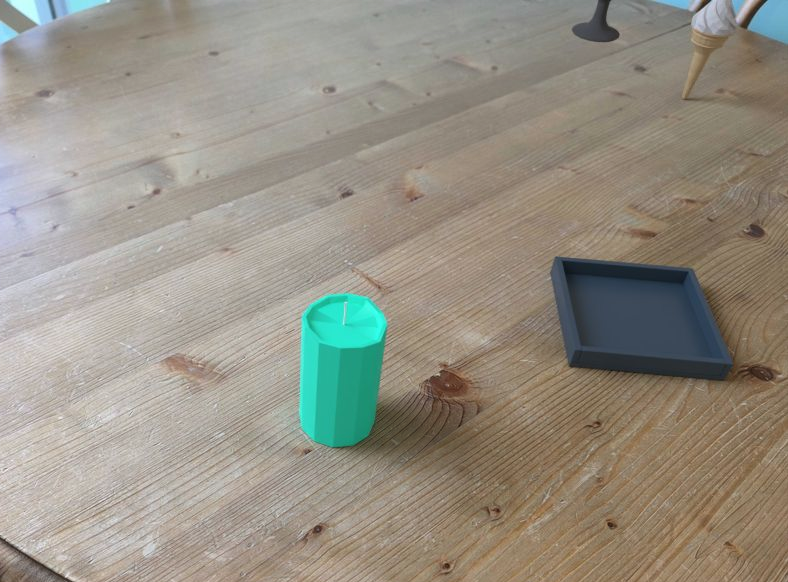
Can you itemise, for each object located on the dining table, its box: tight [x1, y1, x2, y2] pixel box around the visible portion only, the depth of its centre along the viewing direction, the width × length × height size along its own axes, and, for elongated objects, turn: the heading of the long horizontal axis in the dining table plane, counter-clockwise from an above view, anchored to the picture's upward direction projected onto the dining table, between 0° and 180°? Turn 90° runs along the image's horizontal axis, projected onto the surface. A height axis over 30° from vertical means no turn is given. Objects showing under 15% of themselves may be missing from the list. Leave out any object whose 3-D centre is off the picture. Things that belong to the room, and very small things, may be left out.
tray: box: [549, 256, 734, 381], centre depth 68 cm, size 13×13×2 cm
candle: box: [298, 292, 388, 448], centre depth 55 cm, size 6×6×12 cm
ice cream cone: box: [681, 0, 739, 100], centre depth 98 cm, size 6×6×15 cm
